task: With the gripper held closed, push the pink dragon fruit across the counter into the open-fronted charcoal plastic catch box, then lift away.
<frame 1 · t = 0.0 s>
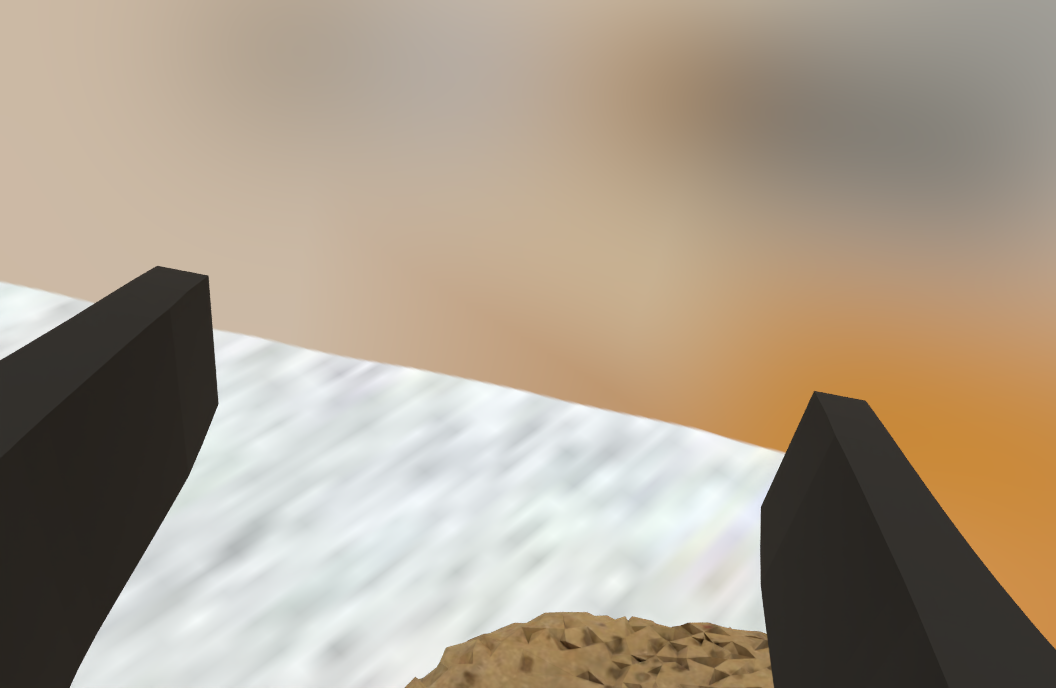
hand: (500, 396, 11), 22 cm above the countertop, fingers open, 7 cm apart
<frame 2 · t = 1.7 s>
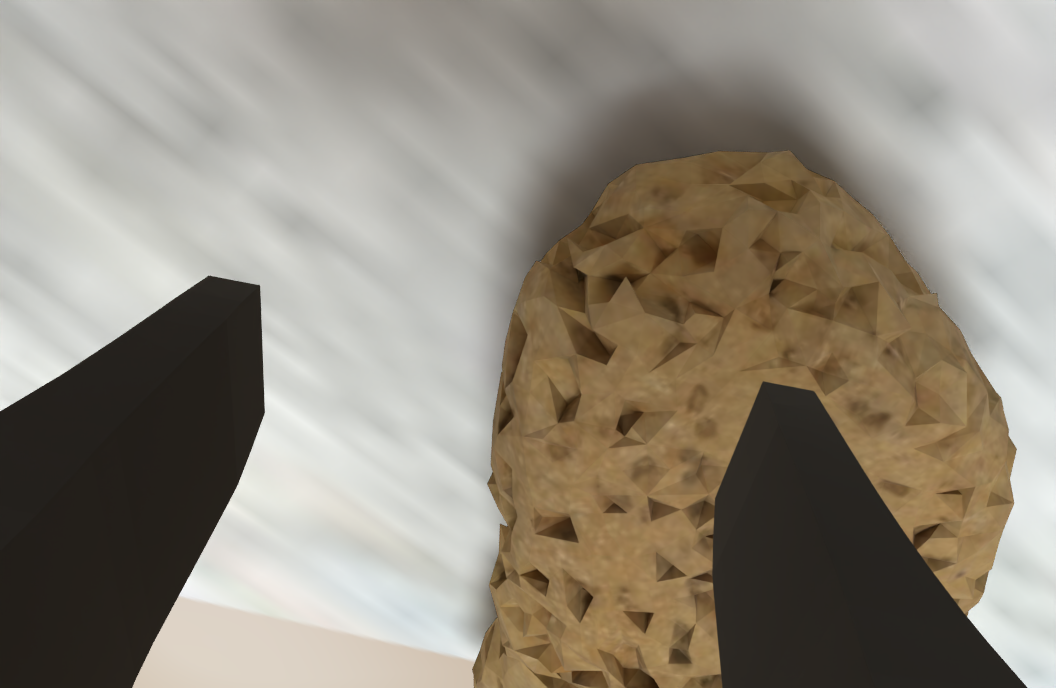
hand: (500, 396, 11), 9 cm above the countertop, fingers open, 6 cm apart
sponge: (691, 467, 25), on the countertop
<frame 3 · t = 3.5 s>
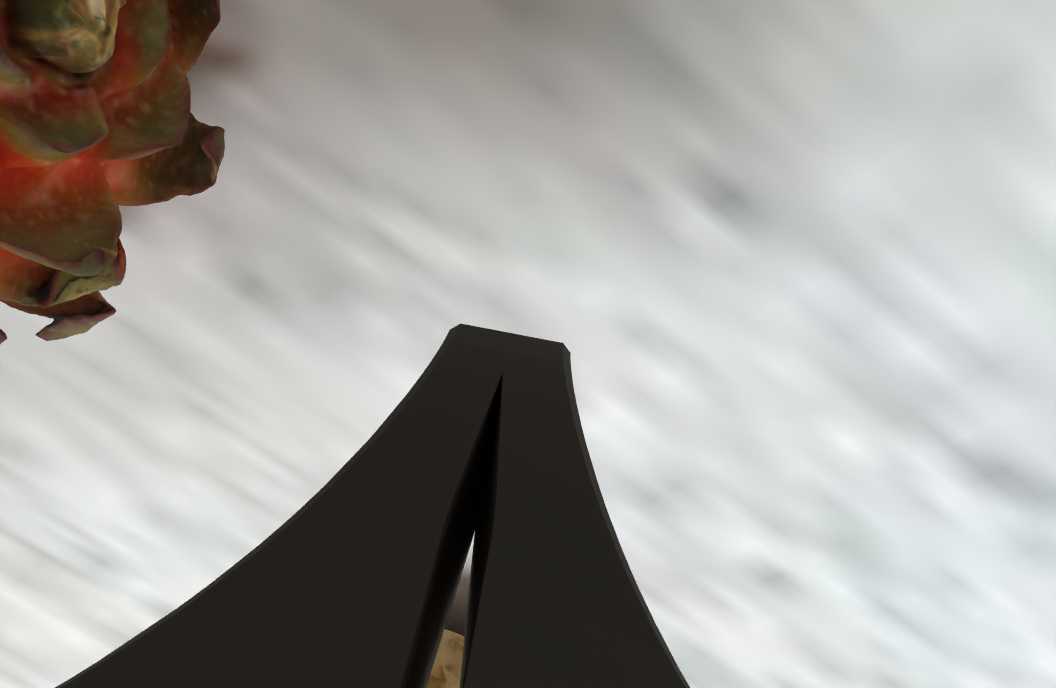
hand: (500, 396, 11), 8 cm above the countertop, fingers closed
dragon fruit: (32, 14, 18), on the countertop
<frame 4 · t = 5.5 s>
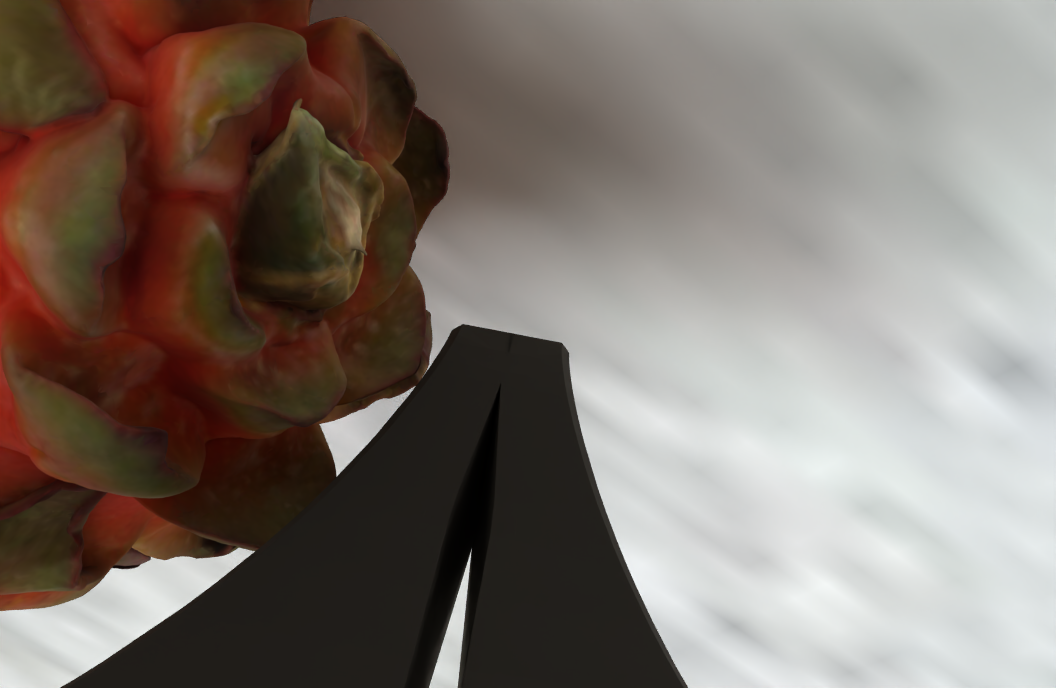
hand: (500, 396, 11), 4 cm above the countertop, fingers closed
dragon fruit: (173, 151, 15), on the countertop, touching gripper
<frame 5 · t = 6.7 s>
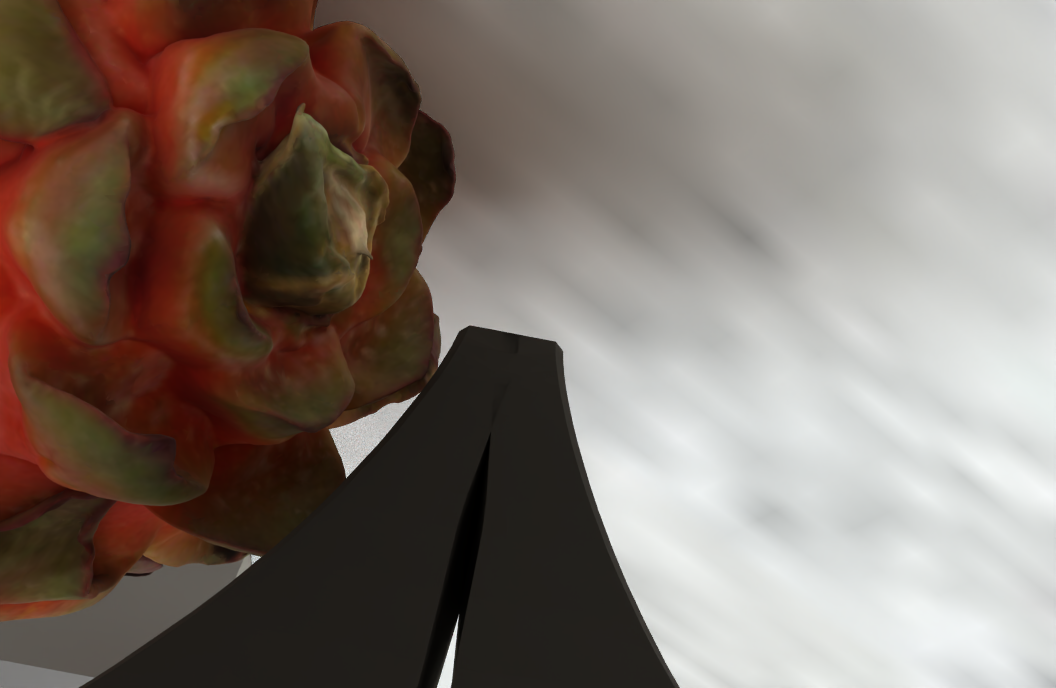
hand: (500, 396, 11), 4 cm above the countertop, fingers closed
dragon fruit: (180, 158, 15), on the countertop, touching gripper
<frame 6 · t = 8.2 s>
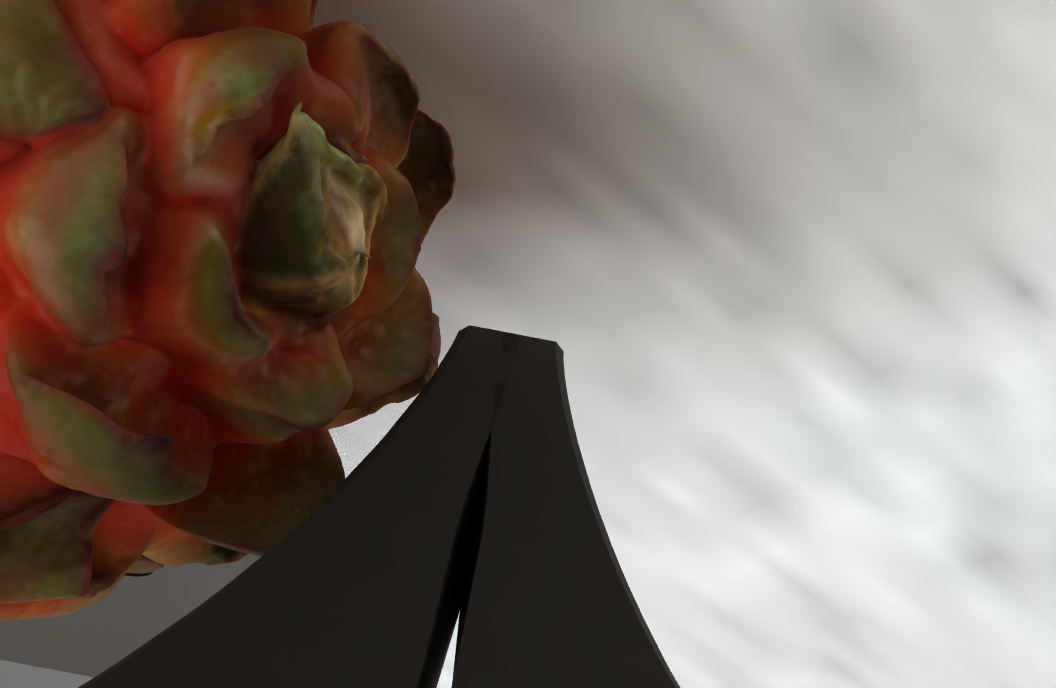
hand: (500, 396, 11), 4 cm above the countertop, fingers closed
dragon fruit: (181, 159, 15), on the countertop, touching gripper
catch box: (82, 143, 14), on the countertop
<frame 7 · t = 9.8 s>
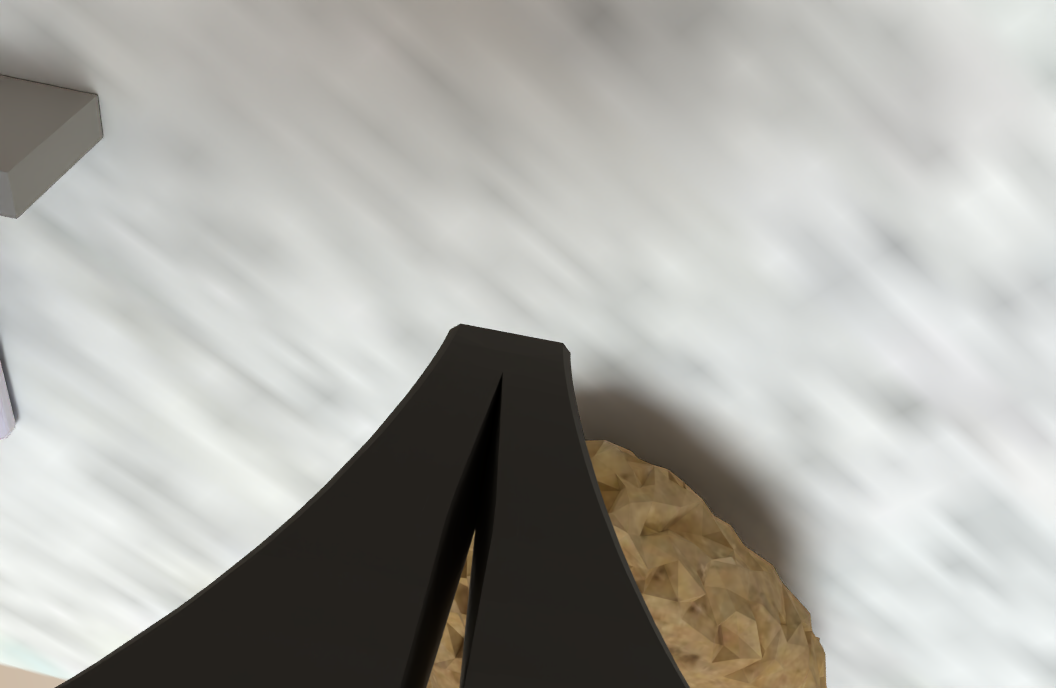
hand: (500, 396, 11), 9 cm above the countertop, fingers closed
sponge: (608, 629, 30), on the countertop
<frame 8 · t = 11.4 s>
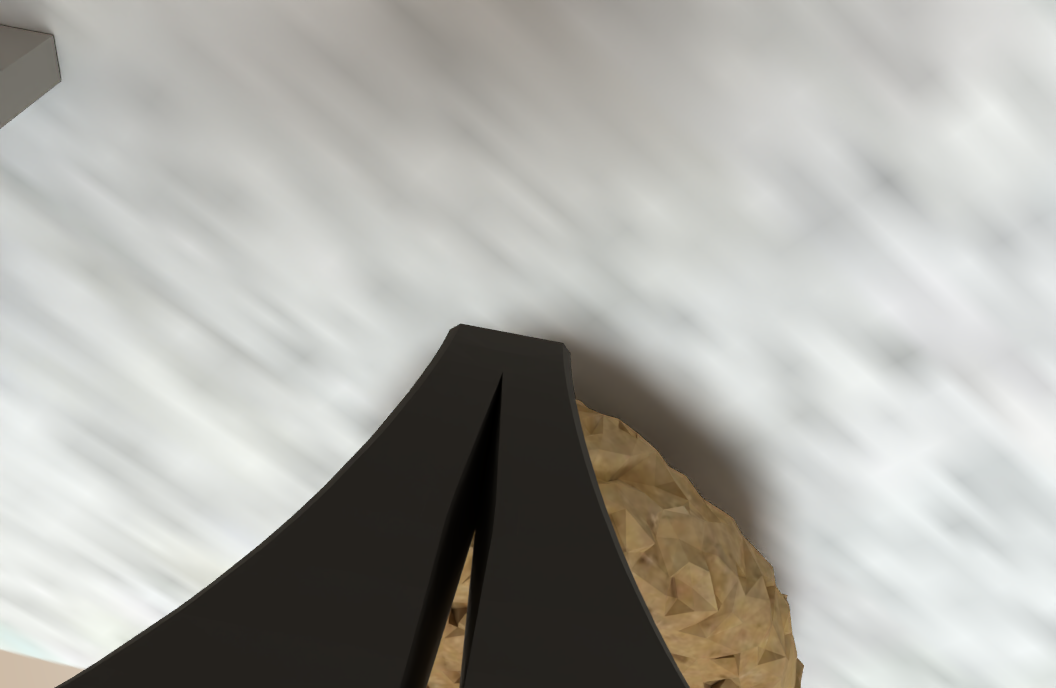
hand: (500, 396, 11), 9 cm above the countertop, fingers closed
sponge: (581, 598, 29), on the countertop
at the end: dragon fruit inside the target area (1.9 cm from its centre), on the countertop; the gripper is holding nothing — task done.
